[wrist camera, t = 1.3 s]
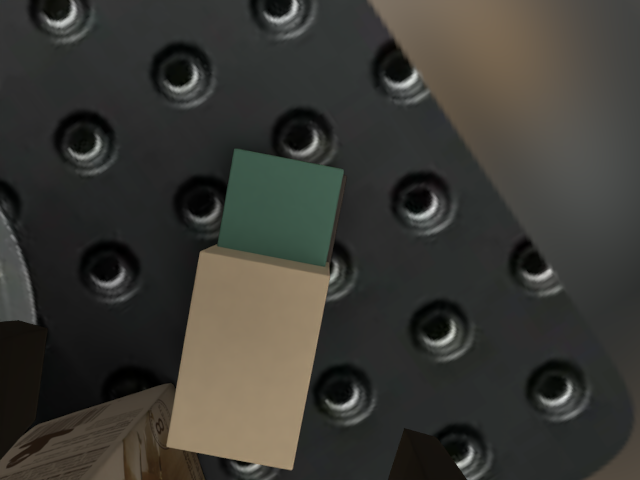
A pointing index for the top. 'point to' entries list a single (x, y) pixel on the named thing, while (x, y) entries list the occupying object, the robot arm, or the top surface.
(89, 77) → the top surface
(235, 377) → the tan and green block
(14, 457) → the coffee box
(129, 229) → the top surface
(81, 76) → the top surface
